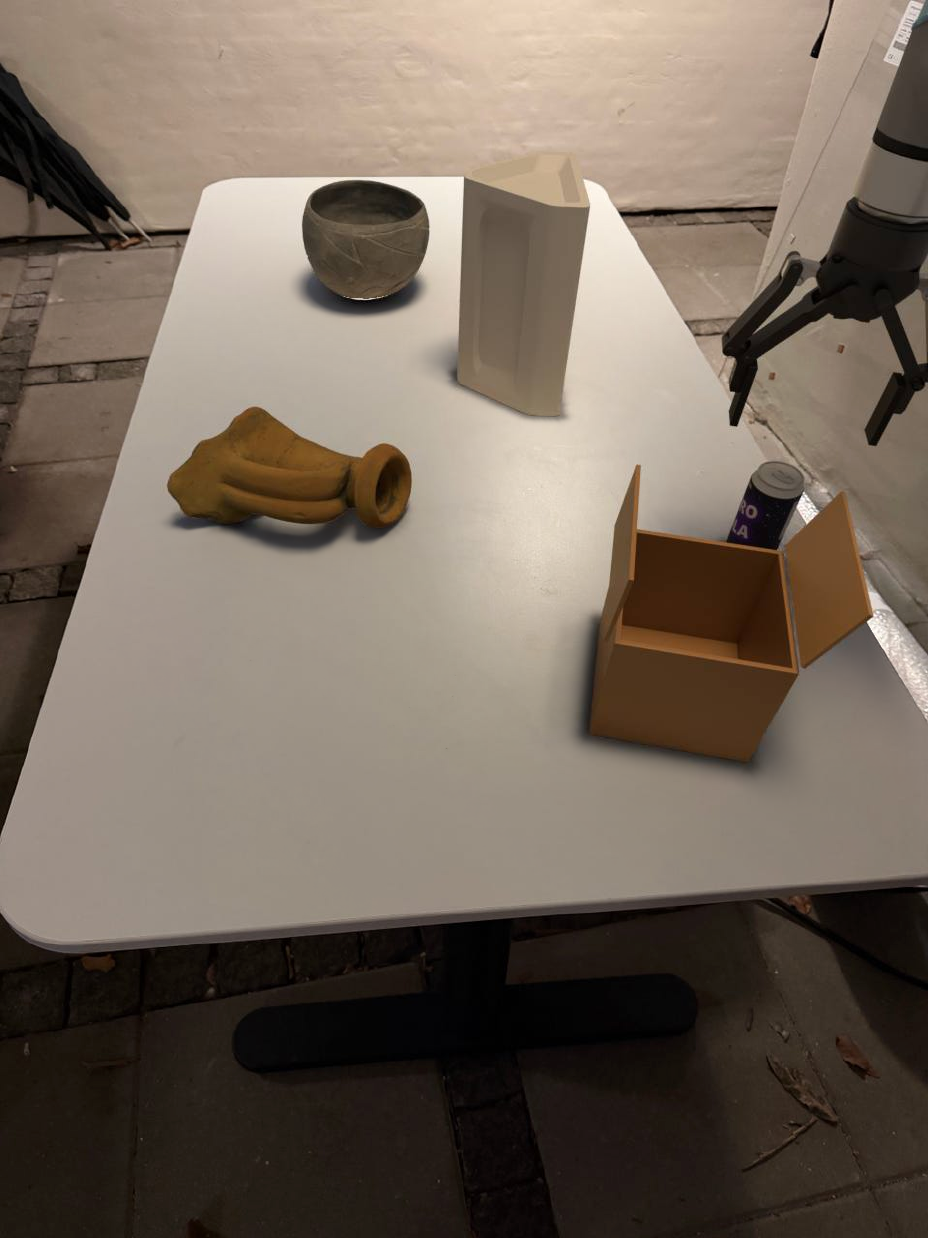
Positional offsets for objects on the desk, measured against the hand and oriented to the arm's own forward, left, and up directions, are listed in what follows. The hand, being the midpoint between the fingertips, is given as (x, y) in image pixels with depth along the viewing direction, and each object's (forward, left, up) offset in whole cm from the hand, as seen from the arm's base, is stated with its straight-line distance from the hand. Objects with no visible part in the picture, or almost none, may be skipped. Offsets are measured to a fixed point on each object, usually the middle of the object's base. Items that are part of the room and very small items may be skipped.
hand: (800, 428), depth 78 cm
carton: (+9, +21, -18) cm, 29 cm away
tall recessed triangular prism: (+34, -33, -18) cm, 51 cm away
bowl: (+61, -55, -18) cm, 84 cm away
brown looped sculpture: (+54, +4, -18) cm, 57 cm away
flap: (0, +21, 0) cm, 21 cm away
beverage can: (0, -1, -18) cm, 18 cm away
